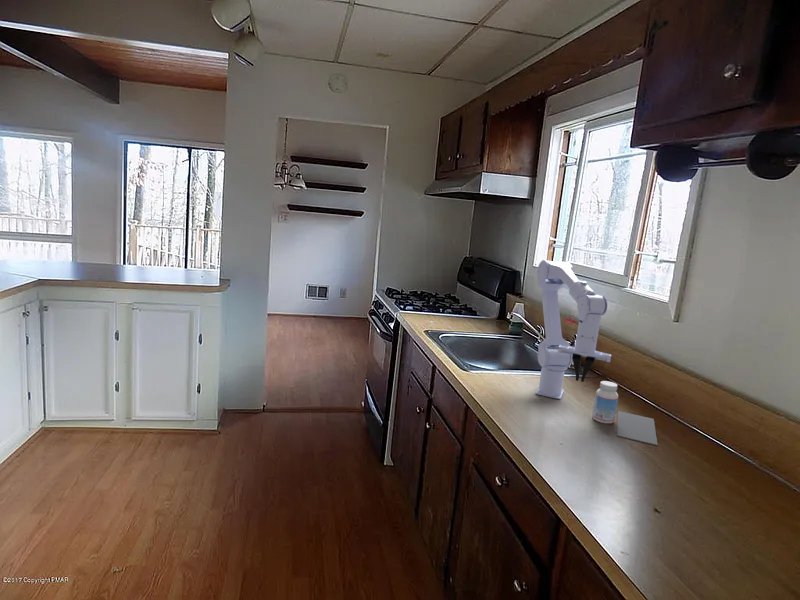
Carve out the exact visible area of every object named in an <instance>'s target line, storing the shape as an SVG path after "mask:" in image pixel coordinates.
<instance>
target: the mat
mask: <svg viewBox="0 0 800 600" xmlns="http://www.w3.org/2000/svg"><path fill="white" fill-rule="evenodd" d="M655 424H656V423H655V420H654V418H651V417H646V416H643V415H638V414H634V413H633V414H632V413H630V412H625V411H621V410H618V411H617V423H616V427H617V428H616V437H618V438H619V437H620V438H624V439H628V440H631V441H635V442H639V443H640V442H641V443H644V444H648V445H653V446H657V447H658V445H659V444H658V439H657V434H656V433H657V432H656V425H655Z"/></svg>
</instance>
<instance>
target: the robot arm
mask: <svg viewBox="0 0 800 600" xmlns="http://www.w3.org/2000/svg"><path fill="white" fill-rule="evenodd" d="M573 267H574V266H573V265H572V264H571V262H569V261H554V260H553V261H552V260H547V259H542V260H541V261H540V262H539V264H538V266H537V269H536V276H537V286H538V287H539V288H540V290H541V299H542V300H541V302H542V303H541V304H542V313H543V321H544V323H543V324H544V332H545V333H544V334H545V339H543V340H542V341H540V343H539V344H538V349H537V350H538V351H537V352H538V353H537V361H538V364H539V366H541V371H540V377H539V383H538V385H539V386H538V387H537V389H536V391H535V394H536V395H539V396H543V397H548V398H551V399H552V398H553V399H557V400H561V399H562V397H563V393H564V391H565V389H563V385H564V377H565V371H568V368H570V367H571V365H572V363H573V366H574V370H575V381H576V382H578V381H579V379H580V370H581V363H582V358H585V359H584V365H583V371H582V375H581V379H580V381H581V383H584V381H585V378H586V376H587V373H588V372H589V370H590V369H591V367H592V366H593V364H594V362H595V360H599V361H604V362H606V363H611V360H612V359H611V358H612V354H610V353H606V352H602V351H598V350H597V343H598V336H599V332H600V331H599V330H600V325H601V320H602V316H603V315H605V314H606V313H607V310H608V300H607V299H606V297H605V295H602V294H596V293H595V290H593V289H592V288H591V287H590V286H589V285H588V282H587V281H586V280H584V281H583V280H579V279H578V277H577V276H576V274H575V273H574V272H573V271H574V268H573ZM565 286H566V287H567V288H568V289H569V290H568V294H569V295H570V296H571V297H572V299H573V300H574V301H575V302H576V304H577V305H576V306H577V307H576V308H577V319H578V324H577V325H578V327H577V330H576V331H577V332H576V339H575V344H574V346H571V345H570V343H569V341H567V340H566V339H564V338H563V333H562V323H561V315H560V303H559V294H558V291H559V290H561V289H563V288H564V287H565Z"/></svg>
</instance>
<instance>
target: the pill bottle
mask: <svg viewBox="0 0 800 600" xmlns="http://www.w3.org/2000/svg"><path fill="white" fill-rule="evenodd" d="M617 390H618V384H617V383H615V382H612V381H608V380H602V381H600V383H599V388H598V389H597V390H596V391H595V397H594V403H593V407H592V408H593V409H592V415H591V416H592V419H593V420H594V421H596V422H599V423H601V424H613V423H615V420H616V419H615V418H616V412H617V407H618V402H619V394H618V392H617Z"/></svg>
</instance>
